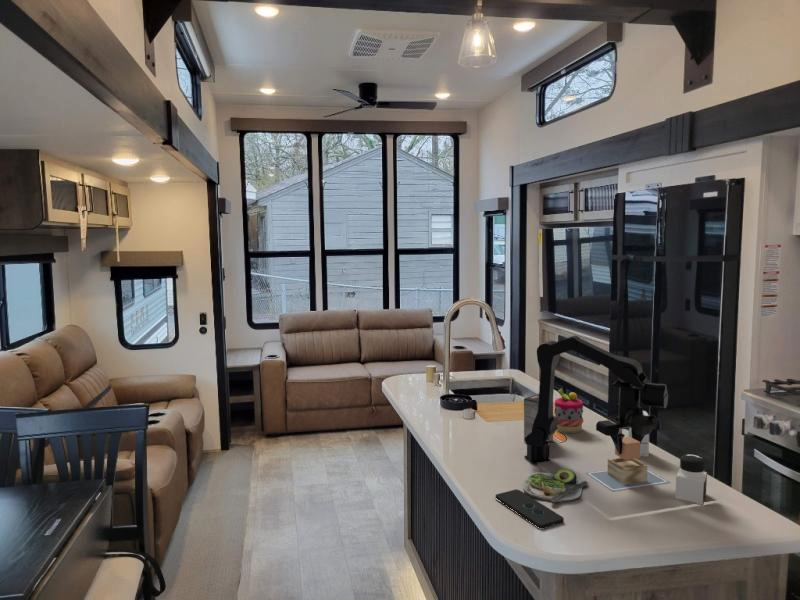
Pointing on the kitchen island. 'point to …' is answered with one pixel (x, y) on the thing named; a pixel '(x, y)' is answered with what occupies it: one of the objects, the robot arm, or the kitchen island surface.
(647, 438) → the syrup box
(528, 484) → the salad plate
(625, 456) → the terracotta block
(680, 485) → the medicine bottle
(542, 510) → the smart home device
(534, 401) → the coffee box
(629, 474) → the oak foundation
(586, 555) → the kitchen island surface
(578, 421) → the cake
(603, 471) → the board
